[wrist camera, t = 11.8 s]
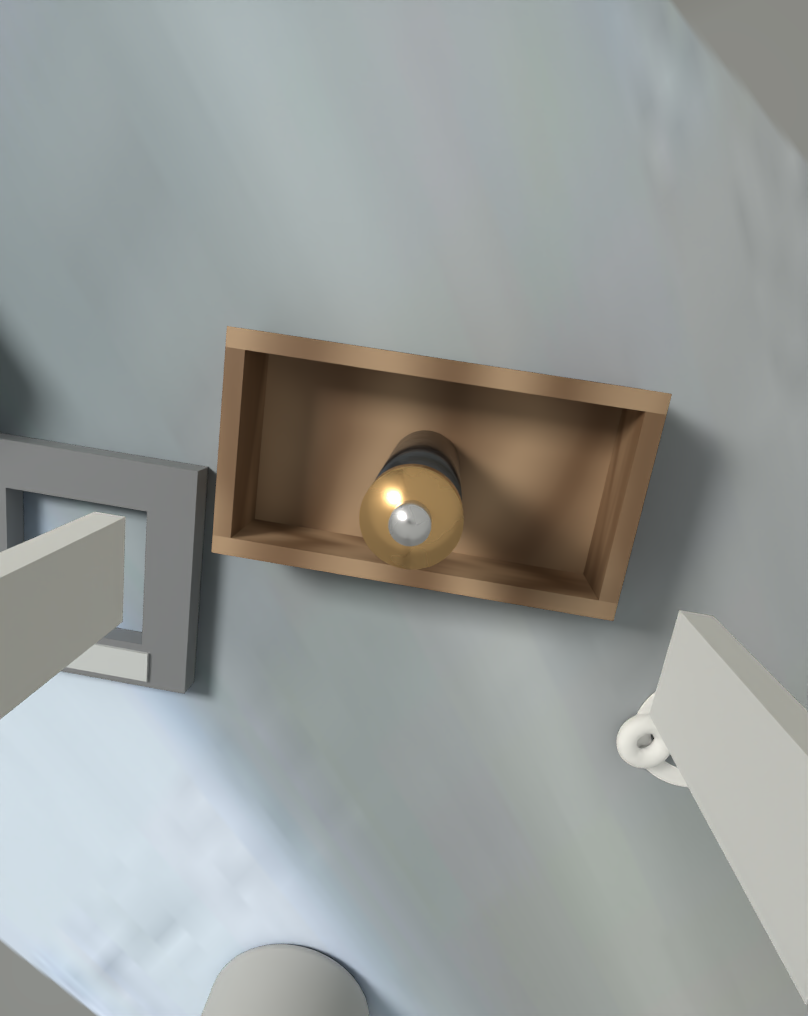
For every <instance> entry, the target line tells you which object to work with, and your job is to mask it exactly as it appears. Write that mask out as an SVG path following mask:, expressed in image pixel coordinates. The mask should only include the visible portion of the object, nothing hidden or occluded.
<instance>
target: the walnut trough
mask: <svg viewBox="0 0 808 1016" xmlns="http://www.w3.org/2000/svg"><path fill="white" fill-rule="evenodd" d="M671 395H672V394H669V393H662V392H656V391H650V390H644V389H638V388H631V387H624V386H618V385H611V384H605V383H598V382H592V381H585V380H579V379H572V378H565V377H559V376H552V375H546V374H539V373H533V372H526V371H520V370H513V369H506V368H500V367H493V366H487V365H480V364H474V363H467V362H461V361H454V360H447V359H441V358H434V357H428V356H421V355H415V354H408V353H402V352H395V351H388V350H382V349H375V348H369V347H362V346H356V345H349V344H342V343H336V342H329V341H323V340H316V339H310V338H303V337H297V336H290V335H283V334H277V333H270V332H264V331H257V330H250V329H243V328H236V327H229V326H227V333H226V348H225V362H224V377H223V391H222V406H221V421H220V435H219V450H218V464H217V479H216V493H215V508H214V522H213V537H212V552H213V553H219V554H224V555H230V556H236V557H242V558H248V559H254V560H260V561H265V562H271V563H277V564H283V565H289V566H295V567H300V568H306V569H312V570H318V571H324V572H330V573H336V574H341V575H347V576H353V577H359V578H365V579H371V580H376V581H382V582H388V583H394V584H400V585H406V586H412V587H417V588H423V589H429V590H435V591H441V592H447V593H452V594H458V595H464V596H470V597H476V598H482V599H488V600H493V601H499V602H505V603H511V604H517V605H523V606H528V607H534V608H540V609H546V610H552V611H558V612H564V613H569V614H575V615H581V616H587V617H593V618H599V619H604V620H610V621H613V620H614V616H615V613H616V609H617V605H618V601H619V597H620V593H621V589H622V585H623V582H624V578H625V574H626V570H627V566H628V562H629V558H630V554H631V551H632V547H633V543H634V539H635V535H636V531H637V527H638V523H639V519H640V516H641V512H642V508H643V504H644V500H645V496H646V492H647V488H648V485H649V481H650V477H651V473H652V469H653V465H654V461H655V457H656V453H657V450H658V446H659V442H660V438H661V434H662V430H663V426H664V422H665V419H666V415H667V411H668V407H669V403H670V399H671ZM421 430H428V431H434V432H437V433H440V434H441V435H443V436H445V437H446V438H447V439H449V440H450V441H451V443H452V444H453V445H454V447H455V448H456V450H457V453H458V456H459V461H460V476H461V492H462V505H463V515H464V524H463V531H462V535H461V537H460V540H459V542H458V544H457V545H456V547H455V548H454V550H453V551H452V552H451V553H450V554H449V555H448V556H447V557H446V558H445V559H443V560H442V561H441V562H439V563H437V564H435V565H433V566H430V567H427V568H423V569H415V570H409V569H402V568H397V567H394V566H392V565H389V564H387V563H386V562H384V561H382V560H381V559H379V558H378V557H377V556H376V555H375V554H374V553H373V552H372V551H371V550H370V549H369V547H368V546H367V544H366V542H365V540H364V538H363V536H362V533H361V530H360V524H359V512H360V507H361V503H362V500H363V498H364V496H365V494H366V492H367V491H368V489H369V488H370V486H371V485H372V483H373V482H374V480H375V479H376V477H377V476H378V474H379V472H380V471H381V469H382V468H383V466H384V464H385V463H386V461H387V460H388V458H389V456H390V455H391V453H392V452H393V450H394V448H395V447H396V445H397V444H398V443H399V442H400V441H401V440H402V439H403V438H404V437H405V436H407V435H408V434H411V433H413V432H416V431H421Z"/></svg>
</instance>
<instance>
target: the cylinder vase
mask: <svg viewBox="0 0 808 1016" xmlns="http://www.w3.org/2000/svg"><path fill="white" fill-rule="evenodd" d="M201 1016H369V1010H368V1005H367V1001H366V999H365V996H364V994H363V992H362V990H361V988H360V986H359V985H358V983H357V982H356V980H355V979H354V978H353V977H352V975H351V974H350V973H349V972H348V971H347V970H346V969H345V968H344V967H342V966H341V965H340V964H339V963H337V962H336V961H334V960H333V959H331V958H330V957H328V956H326V955H324V954H322V953H320V952H317V951H315V950H312V949H309V948H306V947H302V946H297V945H289V944H271V945H264V946H259V947H256V948H253V949H250V950H248V951H245V952H243V953H241V954H240V955H238V956H236V957H235V958H234V959H232V960H231V961H230V962H229V963H228V964H227V965H226V966H225V967H224V968H223V969H222V970H221V972H220V973H219V975H218V976H217V978H216V980H215V982H214V984H213V987H212V989H211V992H210V994H209V997H208V999H207V1002H206V1004H205V1007H204V1010H203V1012H202V1015H201Z"/></svg>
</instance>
